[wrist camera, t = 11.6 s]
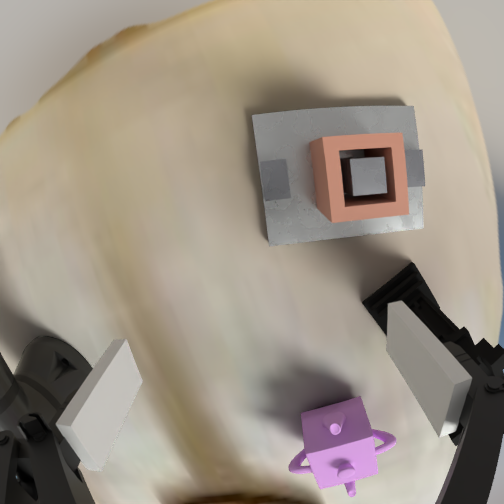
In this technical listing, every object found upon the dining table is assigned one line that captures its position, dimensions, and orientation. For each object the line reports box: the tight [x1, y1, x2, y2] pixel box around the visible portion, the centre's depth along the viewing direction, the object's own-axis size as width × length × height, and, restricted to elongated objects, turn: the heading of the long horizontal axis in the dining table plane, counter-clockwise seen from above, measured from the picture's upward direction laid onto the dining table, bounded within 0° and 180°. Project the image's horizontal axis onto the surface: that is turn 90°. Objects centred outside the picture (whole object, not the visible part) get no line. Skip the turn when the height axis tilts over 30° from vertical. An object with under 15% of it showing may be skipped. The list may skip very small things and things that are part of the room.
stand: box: [252, 106, 425, 246], centre depth 29 cm, size 18×14×10 cm
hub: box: [309, 133, 409, 223], centre depth 28 cm, size 7×7×8 cm
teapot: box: [289, 396, 396, 497], centre depth 38 cm, size 15×13×11 cm
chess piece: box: [362, 262, 504, 446], centre depth 28 cm, size 8×8×20 cm
